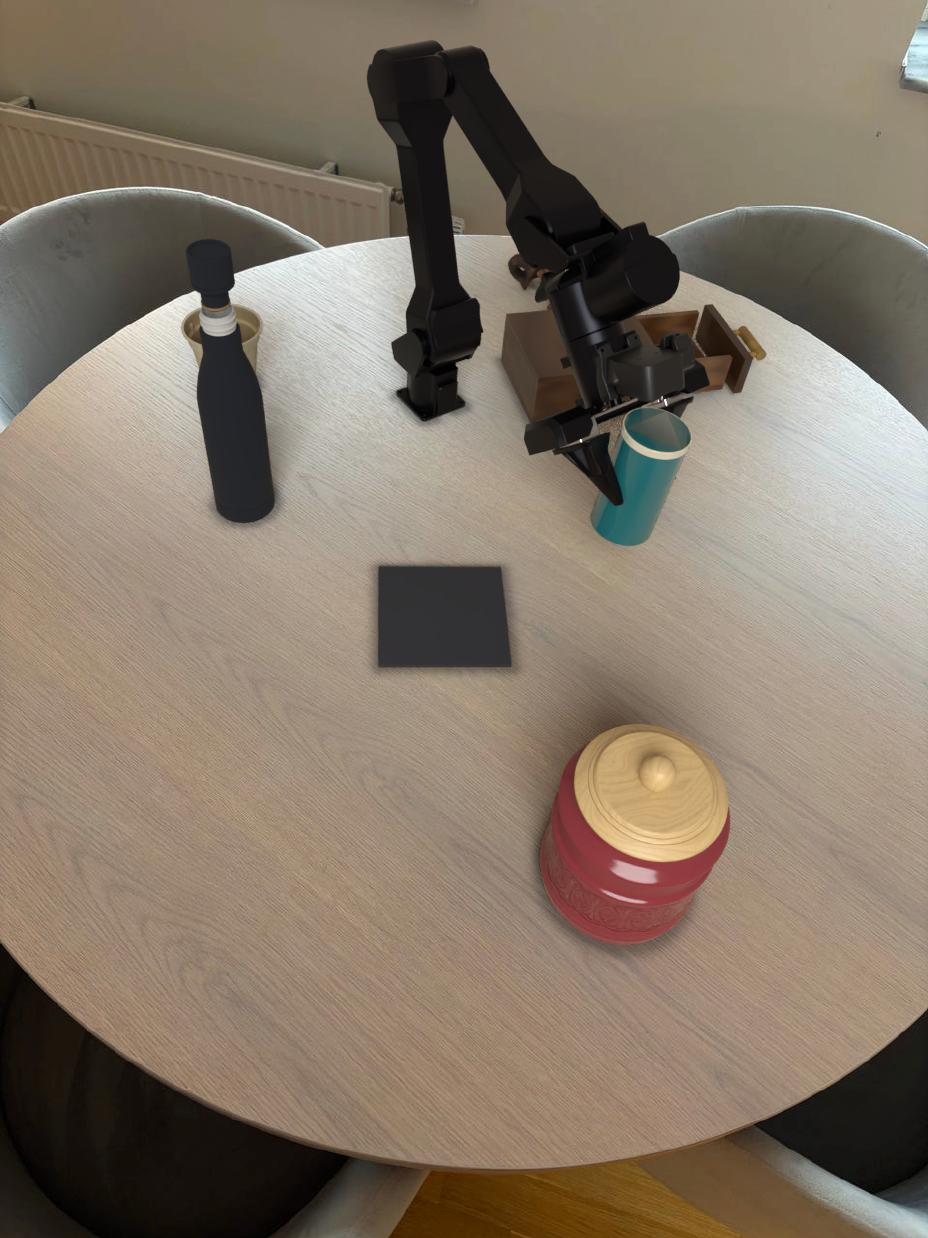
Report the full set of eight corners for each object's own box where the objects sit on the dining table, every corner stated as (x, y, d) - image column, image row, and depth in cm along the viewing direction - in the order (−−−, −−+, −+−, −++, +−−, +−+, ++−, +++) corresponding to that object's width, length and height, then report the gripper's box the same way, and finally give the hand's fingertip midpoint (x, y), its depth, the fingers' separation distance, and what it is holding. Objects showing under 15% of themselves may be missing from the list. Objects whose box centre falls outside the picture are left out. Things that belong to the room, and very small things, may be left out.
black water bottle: (263, 528, 103) (230, 274, 80) (207, 517, 103) (157, 261, 80) (282, 489, 107) (256, 237, 84) (228, 479, 107) (187, 225, 84)
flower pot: (183, 371, 119) (172, 310, 113) (256, 356, 122) (249, 296, 116) (203, 415, 114) (192, 354, 108) (278, 399, 117) (273, 338, 111)
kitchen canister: (675, 804, 85) (732, 689, 71) (704, 949, 76) (775, 849, 63) (531, 804, 84) (561, 687, 70) (544, 950, 75) (581, 849, 62)
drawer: (729, 335, 132) (741, 301, 128) (770, 389, 124) (783, 354, 120) (597, 348, 127) (604, 313, 123) (631, 405, 120) (639, 370, 116)
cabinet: (616, 349, 129) (627, 302, 124) (654, 411, 121) (667, 364, 116) (500, 360, 126) (506, 313, 120) (531, 425, 117) (538, 377, 112)
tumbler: (610, 491, 98) (645, 397, 89) (663, 524, 96) (704, 431, 87) (577, 522, 95) (609, 427, 86) (631, 556, 93) (670, 463, 84)
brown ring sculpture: (576, 279, 141) (601, 247, 133) (571, 335, 139) (595, 307, 131) (501, 256, 138) (521, 222, 130) (494, 313, 135) (514, 283, 128)
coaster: (378, 569, 100) (378, 566, 100) (500, 569, 101) (500, 567, 101) (378, 667, 92) (378, 665, 92) (511, 667, 93) (511, 664, 93)
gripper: (562, 341, 77) (623, 521, 80) (725, 282, 84) (775, 449, 88) (495, 370, 87) (552, 530, 90) (647, 315, 94) (694, 464, 97)
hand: (645, 492), depth 91 cm, fingers closed on tumbler, 6 cm apart
